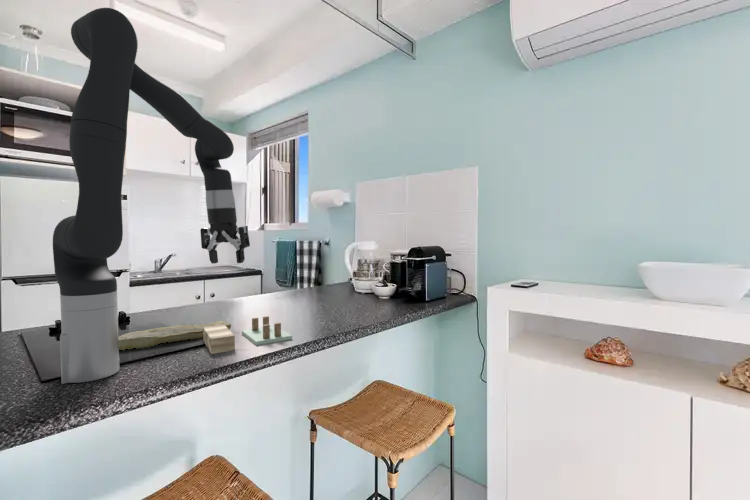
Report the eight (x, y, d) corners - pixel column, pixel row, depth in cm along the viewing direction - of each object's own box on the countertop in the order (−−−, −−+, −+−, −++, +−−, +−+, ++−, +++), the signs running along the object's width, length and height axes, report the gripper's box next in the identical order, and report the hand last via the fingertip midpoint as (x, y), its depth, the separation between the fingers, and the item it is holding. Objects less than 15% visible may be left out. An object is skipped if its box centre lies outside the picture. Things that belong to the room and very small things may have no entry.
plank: (234, 351, 92) (234, 335, 91) (211, 355, 89) (211, 339, 88) (224, 338, 103) (224, 324, 103) (203, 341, 100) (202, 327, 100)
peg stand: (292, 339, 101) (292, 323, 101) (256, 345, 95) (255, 328, 95) (274, 328, 112) (274, 314, 112) (241, 333, 107) (241, 318, 106)
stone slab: (106, 333, 98) (222, 314, 116) (107, 348, 98) (223, 326, 116) (108, 342, 88) (234, 320, 107) (109, 359, 88) (235, 334, 107)
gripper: (190, 208, 101) (197, 265, 103) (235, 205, 97) (241, 265, 99) (208, 207, 108) (215, 261, 110) (250, 205, 104) (256, 260, 107)
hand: (227, 263), depth 105 cm, fingers open, 8 cm apart
